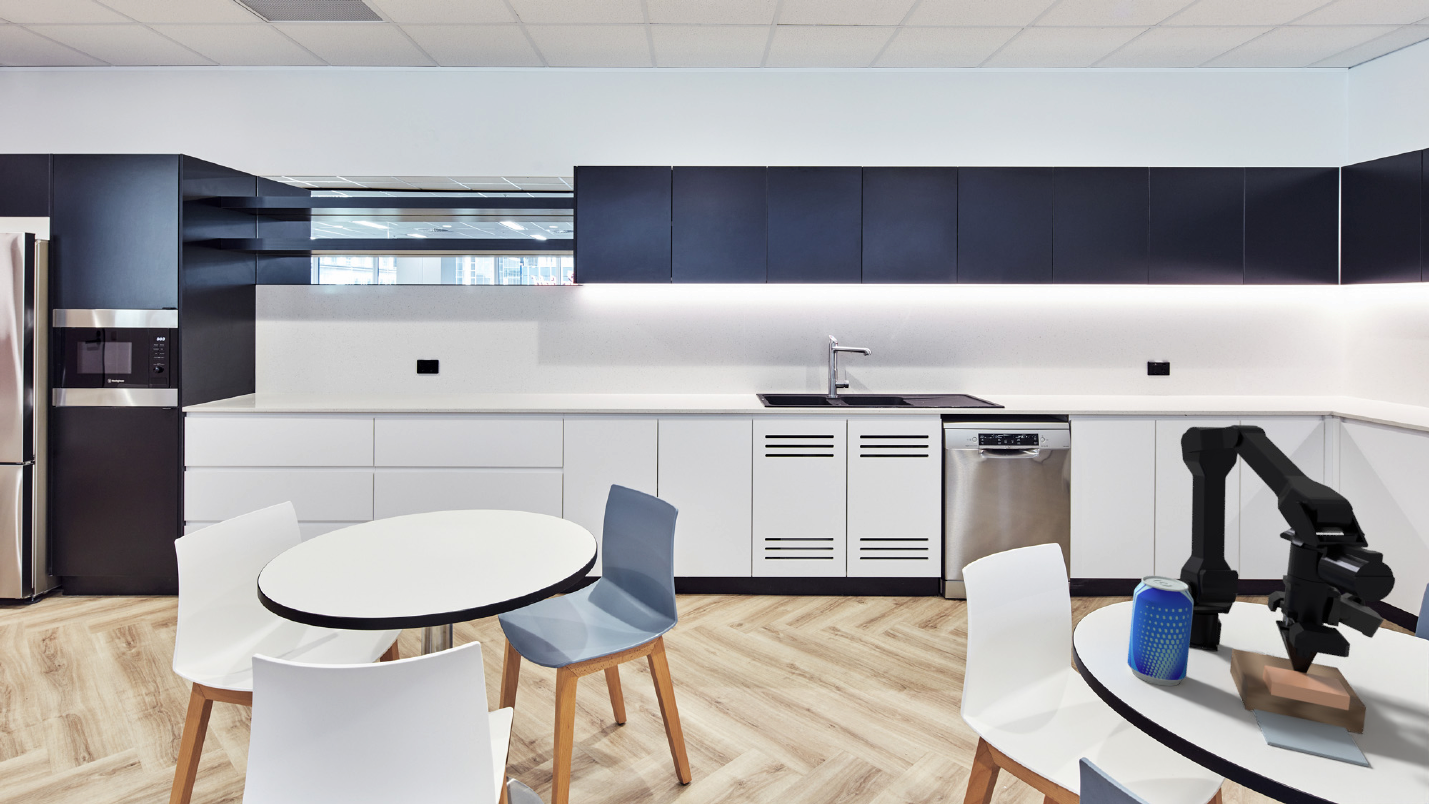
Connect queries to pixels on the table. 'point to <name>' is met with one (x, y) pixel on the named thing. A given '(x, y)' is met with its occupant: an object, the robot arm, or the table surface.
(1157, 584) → the beer can
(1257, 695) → the brown box
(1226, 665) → the table surface
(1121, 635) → the table surface
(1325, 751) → the mat
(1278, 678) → the peach rectangular block
